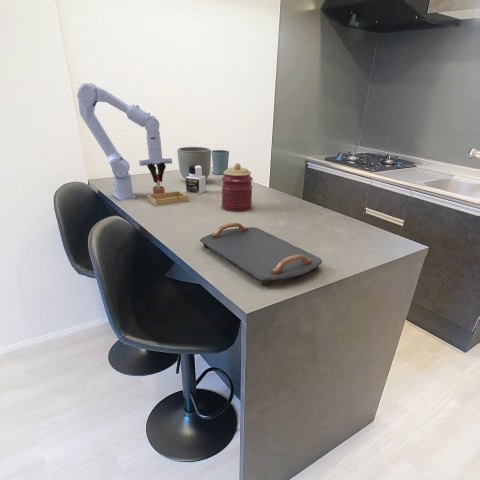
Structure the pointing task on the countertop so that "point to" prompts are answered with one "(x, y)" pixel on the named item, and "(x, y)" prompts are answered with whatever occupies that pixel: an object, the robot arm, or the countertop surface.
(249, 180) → the kitchen canister
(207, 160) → the planter
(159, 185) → the marker
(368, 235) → the countertop surface
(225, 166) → the blue tapered pot
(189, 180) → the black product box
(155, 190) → the cup
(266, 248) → the serving tray
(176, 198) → the tray
